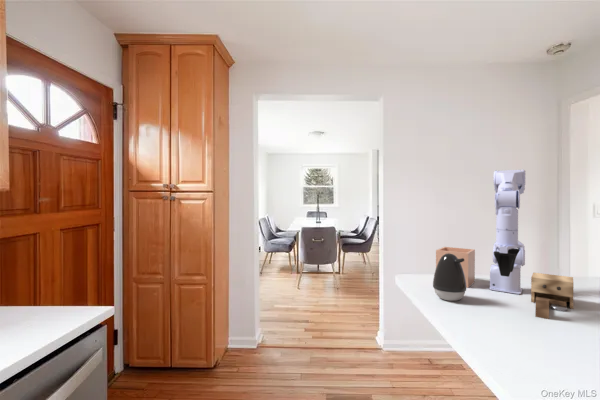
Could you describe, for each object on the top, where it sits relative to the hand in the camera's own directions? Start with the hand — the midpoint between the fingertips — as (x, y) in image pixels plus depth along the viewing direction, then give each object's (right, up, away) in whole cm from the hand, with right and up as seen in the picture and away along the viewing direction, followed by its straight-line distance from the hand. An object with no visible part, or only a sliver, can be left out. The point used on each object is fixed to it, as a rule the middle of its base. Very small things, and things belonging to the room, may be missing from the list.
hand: (506, 273), depth 101 cm
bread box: (+18, -10, +5) cm, 22 cm away
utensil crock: (-2, -10, +30) cm, 31 cm away
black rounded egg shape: (-14, -11, +9) cm, 19 cm away
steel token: (+15, -11, -1) cm, 18 cm away
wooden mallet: (+11, -10, -4) cm, 16 cm away
